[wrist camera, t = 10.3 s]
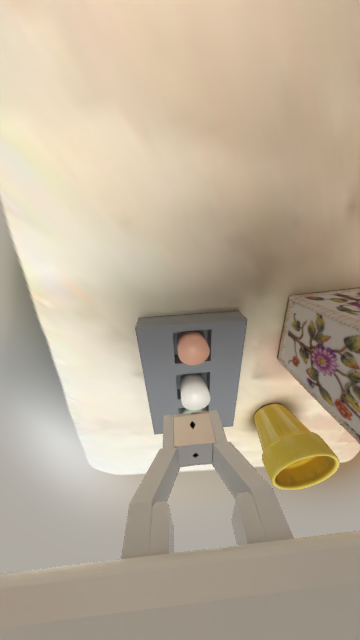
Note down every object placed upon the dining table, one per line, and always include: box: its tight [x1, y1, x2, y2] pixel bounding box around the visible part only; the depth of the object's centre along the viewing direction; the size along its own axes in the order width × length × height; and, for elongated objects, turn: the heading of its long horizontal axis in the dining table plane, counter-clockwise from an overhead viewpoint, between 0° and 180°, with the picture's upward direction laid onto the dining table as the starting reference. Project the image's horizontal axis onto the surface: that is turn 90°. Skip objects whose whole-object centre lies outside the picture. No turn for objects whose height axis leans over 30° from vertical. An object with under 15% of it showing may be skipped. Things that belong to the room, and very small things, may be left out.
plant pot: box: [254, 404, 339, 490], centre depth 30 cm, size 10×10×10 cm
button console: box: [135, 311, 247, 434], centre depth 27 cm, size 14×21×3 cm, turn 3°
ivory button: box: [180, 374, 210, 410], centre depth 24 cm, size 4×4×3 cm
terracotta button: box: [177, 330, 210, 365], centre depth 22 cm, size 4×4×3 cm
